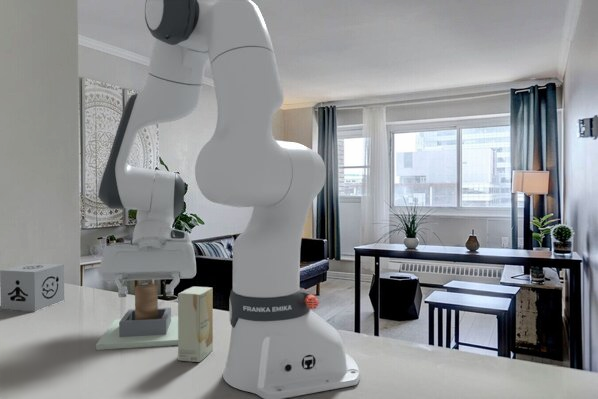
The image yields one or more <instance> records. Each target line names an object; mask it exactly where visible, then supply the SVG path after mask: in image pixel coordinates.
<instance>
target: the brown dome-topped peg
mask: <svg viewBox="0 0 598 399" xmlns="http://www.w3.org/2000/svg"><path fill="white" fill-rule="evenodd" d="M158 299H159V298H158V285H157V284H155V283H144V284H139V285H136V286H134V309H135V320H147V319H158V308H159V307H158V305H159V304H158V303H159V302H158Z"/></svg>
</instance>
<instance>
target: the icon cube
mask: <svg viewBox="0 0 598 399" xmlns="http://www.w3.org/2000/svg"><path fill="white" fill-rule="evenodd" d="M63 300H64V301H65V264H62V263H61V264H55V263H37V262H36V263H34V262H33V263H26V264H22V265H17V266H14V267H10V268H4V269H0V309H1V308H2V309H10V310H9V311H13V310H22V311H21V312H28V311H37V310H39V309H42V308H44V307H47V306H50V305H52V304H55V303H58V302H60V301H63ZM58 304H59V303H58ZM50 307H51V306H50ZM42 310H43V309H42ZM39 311H40V310H39ZM37 312H38V311H37Z"/></svg>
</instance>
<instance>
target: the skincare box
mask: <svg viewBox="0 0 598 399" xmlns="http://www.w3.org/2000/svg"><path fill="white" fill-rule="evenodd" d="M213 291H214V290H213V287H209V286H191V287H189V288H186V289H184V290H183V291H181V292H179V293H178V294H177V316H178V345H177V359H178V361H181V362H182V361H183V362H191V363H192V362H195V363H196V362H197V363H200V362H202V361H203V360H204V359H205V358H207V357H208V355H209V354H211V353H212V352H213V349H214V348H213V346H214V343H213V342H214V340H213V339H214V338H213V337H214V336H213V334H214V333H213V332H214V331H213V330H214V328H213V322H214V321H213V320H214V319H213V316H214V315H213V314H214V313H213V309H214V308H213V301H214V300H213V297H214V296H213Z"/></svg>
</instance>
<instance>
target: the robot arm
mask: <svg viewBox="0 0 598 399" xmlns="http://www.w3.org/2000/svg"><path fill="white" fill-rule="evenodd" d="M144 20H145V24H146V27H147V28H148V31H149V32H150V34H151V35H152V37H154V38H155V40H154V44H153V47H152V50H151V55H150V59H149V60H150V61H149V66H148V67H149V68H148V71H147V72H148V74H147V77H146V81H145V83H144V85H143V87H142V89H140V91H139V92H138V93H135V94H134V93H133V94H131V96H129V98H128V100H127V101H126V103H125V105H124V109H123V111H122V115H121V118H120V120H119V123H118V127H117V130H116V132H115V137H114V140H113V143H112V146H111V148H110V152H109V155H108V159H107V162H106V164H105V167H104V169H103V170H102V172H101V175H100V176H99V180H98V183H97V195H98V196H97V197H98V198H99V200H100V202H102V203H103V204H104V205H105V206H106V207H107V208H109V209H111V210H112V209H113V210H127V209H128V210H134V211H136V216H135V217H136V224H135V226H134V228H133V233H132V240H131V241H127V242H126V241H125V242H111V243H110V244H107V245H106V246H104V248H103V249H102V253H101V257H102V259H101V261H100V262H99V263H100V264H99V266H98V274H99V276H100V278H101V279H102V281H104V282H115V284H116V286H117V290H118V291H117V296H118V298H127V297H128V291H129V290H128V287H127V286H126V285H124V281H125V282H126V281H151V280H172V281H171V282H170V283H169V284H168V283H167V284H165V290H164V291H165V295H166V296H173V295H174V289H175V288H176V287H177V286H178V285H179V283H180V281H181V280H180V279H193V278H194V277H195V276H196V274H197V261H196V254H195V249H194V246H193V244H192V243H193V242H192V238H191V235H190V233H189V232H188V231H184V230H179V229H176V228H173V225H174V223H175V219H176V218H178V216H179V215H181V213H182V212H183V209H184V205H185V192H186V183H185V181H184V180H183V178H182V177H181V176H180V175H179V174H178V173H177V172H173V171H168V170H162V169H154V168H146V167H138V166H133V165H130V164H129V163H128V161H129V158H130V156H131V152H132V149H133V146H134V144H135V141H136V137H137V135H138V133H139V132H141V130H142V129H145V128H147V127H150V126H154V125H158V124H164V123H171V122H175V121H178V120H182V119H183V118H185V117H187V116H189V115H190V114H192V113H193V111H195V110H196V108H197V107H198V104H199V102H200V97H201V94H202V90H203V82H204V77H205V67H206V63H207V61H208V59H209V63H210V64H209V65H210V69H211V73H212V79H213V86H214V91H215V97H216V104H217V118H216V119H217V120H216V125H215V130H214V132H213V134H212V137H211V138H210V139H209V140H208V141H207V142H206V143H205V144H204V145H203V147H202V148H201V149H200V151H199V153H198V155H197V158H196V161H195V167H194V175H195V176H194V177H195V181H196V184H197V187H198V189H199V190H200V193H201V194H202V196H204V198H205V199H207V200H208V201H210V202H212V203H215V204H219V205H222V206H229V207H232V208H238V209H239V208H252V207H253V209H252V213H251V217H250V219H249V221H248V224H247V226H246V227H245V229H243V231H242V232H241V233H240V234H239V235H238V236H237V237H236V239H235V240H234V243H233V245H232V289H231V290H230V294H229V301H228V302H229V303H228V304H229V312H228V313H229V322H230V326H231V331H230V332H231V333H230V341H229V348H228V353H227V358H226V361H225V366H224V370H223V372H222V377H223V380H224V381H225V382H226V384H228V385H229V386H231V387H233V388H235V389H238V390H240V391H244V392H249V393H252V394H256V395H257V396H259V397H261V398H262V399H287V398H294V397H299V396H303V395H309V394H314V393H319V392H325V391H329V390H336V389H342V388H347V387H351V386H356V385H357V384H358V383H359V381H360V379H361V378H360V377H361V376H360V375H361V374H360V367H359V366H358V364H357V362H356V361H355V360H354V358H353V357H351V355H349V354H348V353H347V352H346V349H345V345H344V342H343V339H342V337H341V335H340V333H339V332H338V330H337V329H336V328H334V326H332V325H331V324H329V322H327V321H326V320H325V319H324V318H322V317H321V316H319V315H318V314H317V313H315V311H313V310H316V309H317V308H318V307H319V304H320V302H319V299H318V298H317V297H316V296H315V295H314V294H311V293H310V292H309V291H308V290H306V289H305V288H304V287H300V275H301V274H300V272H301V271H300V270H301V268H300V267H301V266H300V265H301V246H302V237H303V234H304V229H305V226H306V225H305V224H306V222H307V218H308V215H309V213H310V209H311V207H312V204H313V202H314V200H315V198H316V197H317V196H318V195H319V193H320V192H321V191H322V189H323V188H324V186H325V182H326V179H327V178H326V177H327V170H326V165H325V162H324V160H323V158H322V156H321V155H320V154H319V153H318V152H316V151H315V150H314V149H311V148H309V147H307V146H305V145H303V144H302V143H298V142H293V141H288V140H287V141H286V140H285V141H284V140H279V139H278V140H277V139H275V137H274V135H273V116H274V115H275V114H276V113H277V112H279V110H280V108H281V107H282V105H283V103H284V96H285V94H284V91H283V86H282V82H281V78H280V77H281V76H280V73H279V68H278V62H277V59H276V54H275V50H274V45H273V43H272V38H271V35H270V33H269V30H268V27H267V25H266V22H265V20H264V17H263V15H262V13H261V11H260V9H259V7H258V5H256V3H254V2H253V1H252V0H145V7H144Z"/></svg>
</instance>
